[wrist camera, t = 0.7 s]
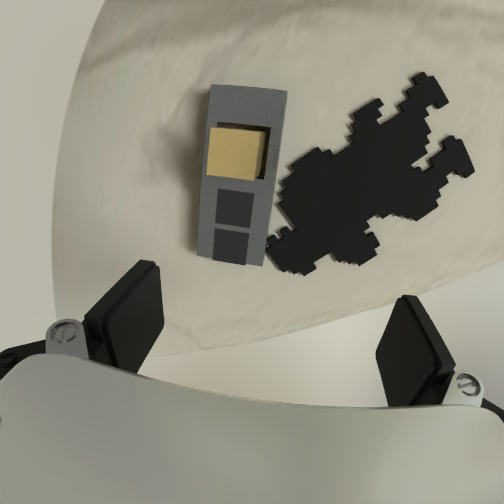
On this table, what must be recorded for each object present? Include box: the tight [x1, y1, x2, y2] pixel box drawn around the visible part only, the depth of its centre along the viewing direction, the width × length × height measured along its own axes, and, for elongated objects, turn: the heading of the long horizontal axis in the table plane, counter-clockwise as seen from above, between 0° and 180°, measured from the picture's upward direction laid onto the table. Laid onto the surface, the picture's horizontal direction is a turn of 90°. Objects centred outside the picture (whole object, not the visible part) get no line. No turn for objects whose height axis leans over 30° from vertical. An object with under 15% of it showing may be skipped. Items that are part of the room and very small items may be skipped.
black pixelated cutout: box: [266, 72, 475, 276], centre depth 31 cm, size 16×1×30 cm
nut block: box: [206, 127, 267, 181], centre depth 28 cm, size 4×4×7 cm
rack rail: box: [197, 84, 288, 266], centre depth 31 cm, size 20×8×3 cm, turn 173°
